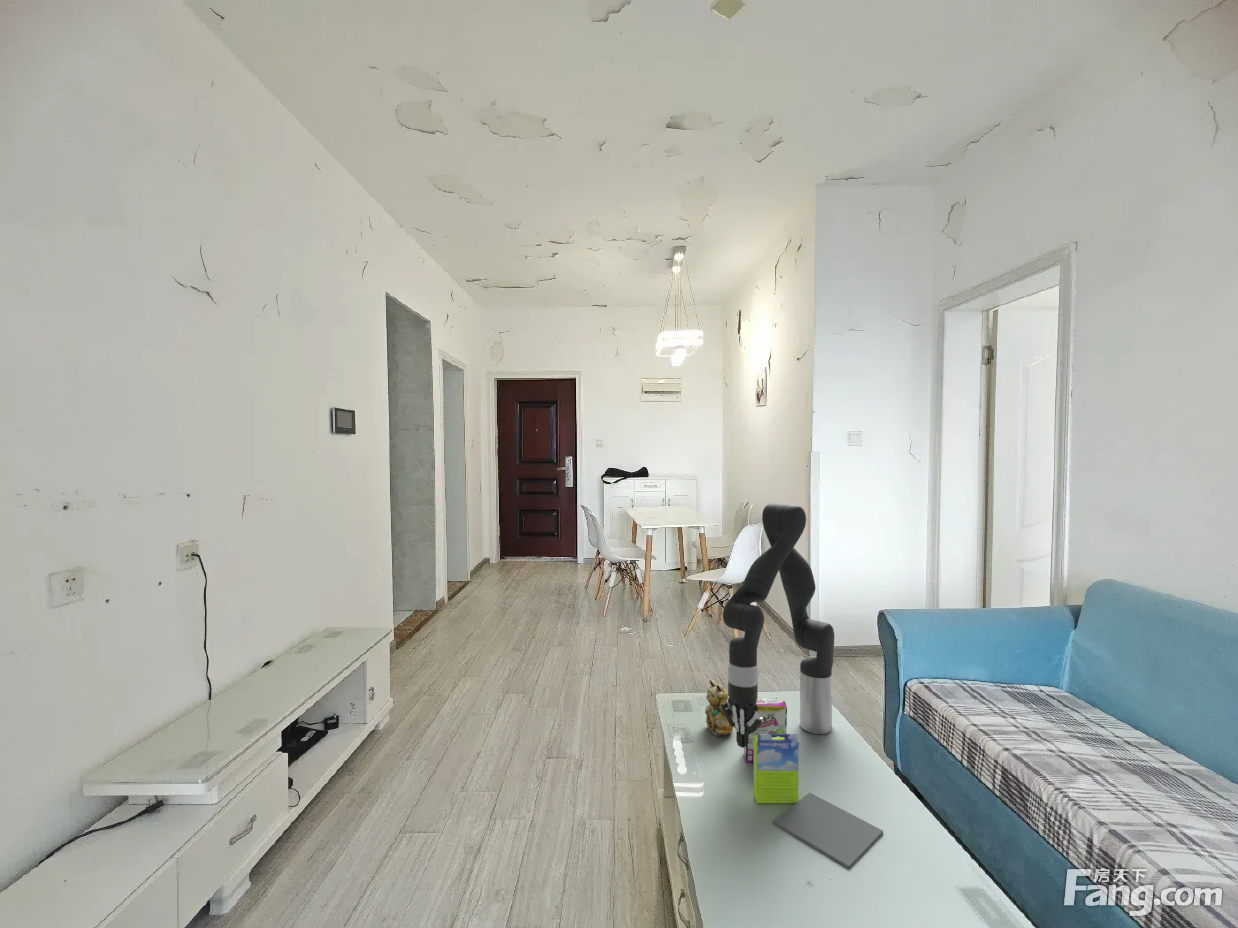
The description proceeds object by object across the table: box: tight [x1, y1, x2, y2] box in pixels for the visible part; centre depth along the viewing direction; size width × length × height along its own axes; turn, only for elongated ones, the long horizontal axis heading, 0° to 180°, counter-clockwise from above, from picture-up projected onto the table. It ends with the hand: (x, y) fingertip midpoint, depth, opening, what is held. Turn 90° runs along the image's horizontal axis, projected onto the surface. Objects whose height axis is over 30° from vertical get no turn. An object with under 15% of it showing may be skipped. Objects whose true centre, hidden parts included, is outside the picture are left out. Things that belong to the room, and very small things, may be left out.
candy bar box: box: [743, 697, 788, 763], centre depth 151 cm, size 11×5×16 cm, turn 84°
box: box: [753, 733, 800, 804], centre depth 133 cm, size 10×4×17 cm, turn 90°
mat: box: [772, 792, 884, 869], centre depth 123 cm, size 16×18×1 cm
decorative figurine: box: [704, 679, 734, 737], centre depth 166 cm, size 10×8×15 cm
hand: (742, 745), depth 141 cm, fingers closed
